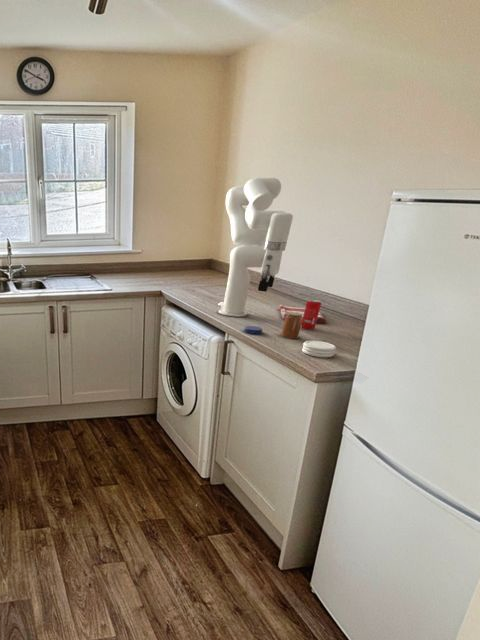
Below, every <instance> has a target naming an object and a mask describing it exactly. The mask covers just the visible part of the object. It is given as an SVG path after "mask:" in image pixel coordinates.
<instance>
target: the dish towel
mask: <svg viewBox="0 0 480 640" xmlns="http://www.w3.org/2000/svg"><path fill="white" fill-rule="evenodd" d="M278 308H279V309H278V310H279V313H280V315H281V317H282V320H284V321H285V317H286V316H287V313H289V312H296V313H301V314H302V318H303V315H304V311H305V308H306V307H301V306H287V305H283V304H280V305H279V306H278ZM326 322H327V319H326V317H324V316H323V314H322V313H321V312H320V311H319V314H318V317H317V321H316V323H319V324H320V323H321V324H324V323H326Z"/></svg>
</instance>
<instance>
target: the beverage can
mask: <svg viewBox="0 0 480 640" xmlns="http://www.w3.org/2000/svg"><path fill="white" fill-rule="evenodd" d="M321 306H322V301H321V300H320V299H307V301H306V304H305V307H304V308H305V311H304V315H303V319H302V323H301V329H304V330H308V331H309V330H314V328H315V327H316V324H317V322H316V321H317V317H318V314H319V312H320V310H321Z"/></svg>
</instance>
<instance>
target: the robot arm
mask: <svg viewBox="0 0 480 640" xmlns="http://www.w3.org/2000/svg"><path fill="white" fill-rule="evenodd" d="M281 190H282V183H281V181H280V179H278V178H276V177H254V178H251V179H249V180H247V181H246V182H245V184H244V185H238V186H233V187H231V188H230V189H229V190H228V191H227V193H226V196H225V209H226V213H227V215H228V219H229V223H230V233H231V242H232V244H233V246H235V247H234V248H232V249H231V251H230V253H229V269H228V276H227V283H226V289H225V292H224V299H223V301H220V302H218V303H217V306H218V307H220V309H219V310H218V313H219V314H220V315H223V316H227V317H234V318H237V317H239V318H242V317H247V316H248V311H246V310H245V309H246V303H247V299H248V293H249V290H250V289H249V288H250V283H251V274H250V272H249V270H248V269H250V268H261V270H260V275H261V276H260V280H259V283H258V287H257V291H259V292H266V293H267V291H268V288H273V286H274V282H275V277H276V276H277V275H278V274H279V272H280V268H281V267H280V266H281V262H282V257H283V252H284V251H286V247H287V244H288V240H289V237H290V230H291V226H292V223H293V217H294V215H293V214H292V213H290V212H286V211H284V210H268V209H269V208H270V207H271V205H272V204H273V202H274V200H275V199H276V198H277V197H278V196H279V195H280V193H281ZM243 206H247V207H246V209H245V207H243Z"/></svg>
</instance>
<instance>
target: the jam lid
mask: <svg viewBox="0 0 480 640" xmlns="http://www.w3.org/2000/svg"><path fill="white" fill-rule="evenodd" d="M243 332H244V333H245V334H250V335H261V334H262V333H263V328H262V327H259V326H255V325H246V326H245V327H244V330H243Z"/></svg>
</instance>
